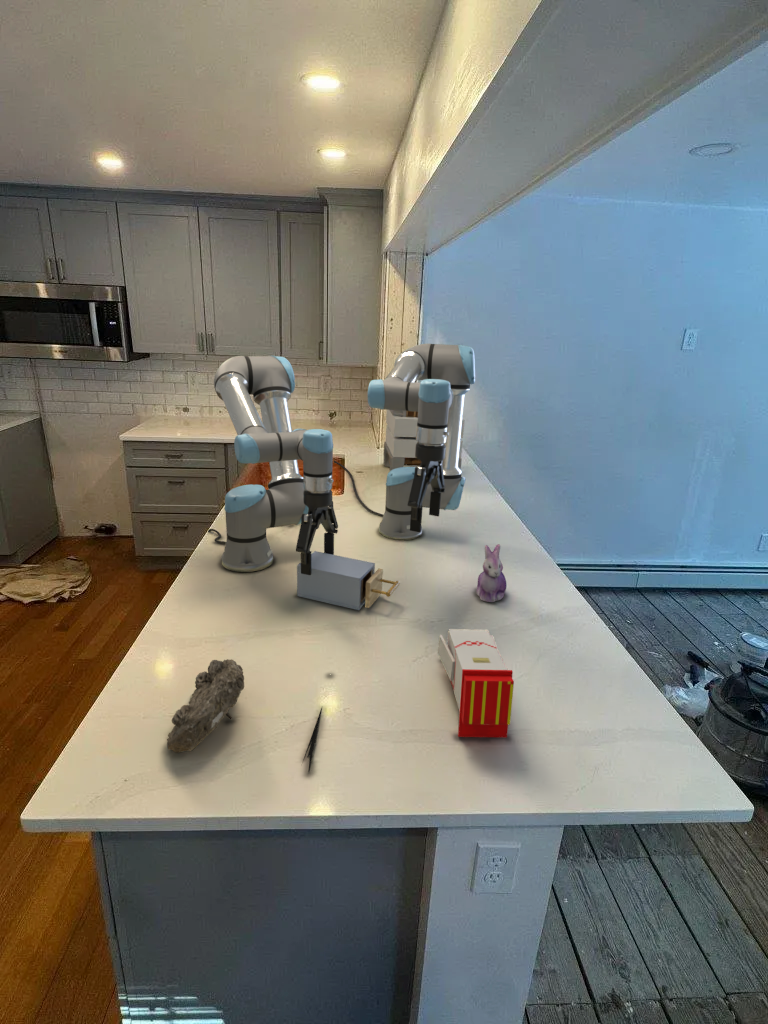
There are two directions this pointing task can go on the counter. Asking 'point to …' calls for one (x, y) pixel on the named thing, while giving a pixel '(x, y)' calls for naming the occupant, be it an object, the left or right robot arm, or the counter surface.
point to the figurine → (491, 577)
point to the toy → (478, 682)
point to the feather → (313, 740)
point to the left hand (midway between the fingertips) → (318, 564)
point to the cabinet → (334, 580)
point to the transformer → (404, 439)
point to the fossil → (206, 705)
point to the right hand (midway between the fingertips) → (425, 523)
